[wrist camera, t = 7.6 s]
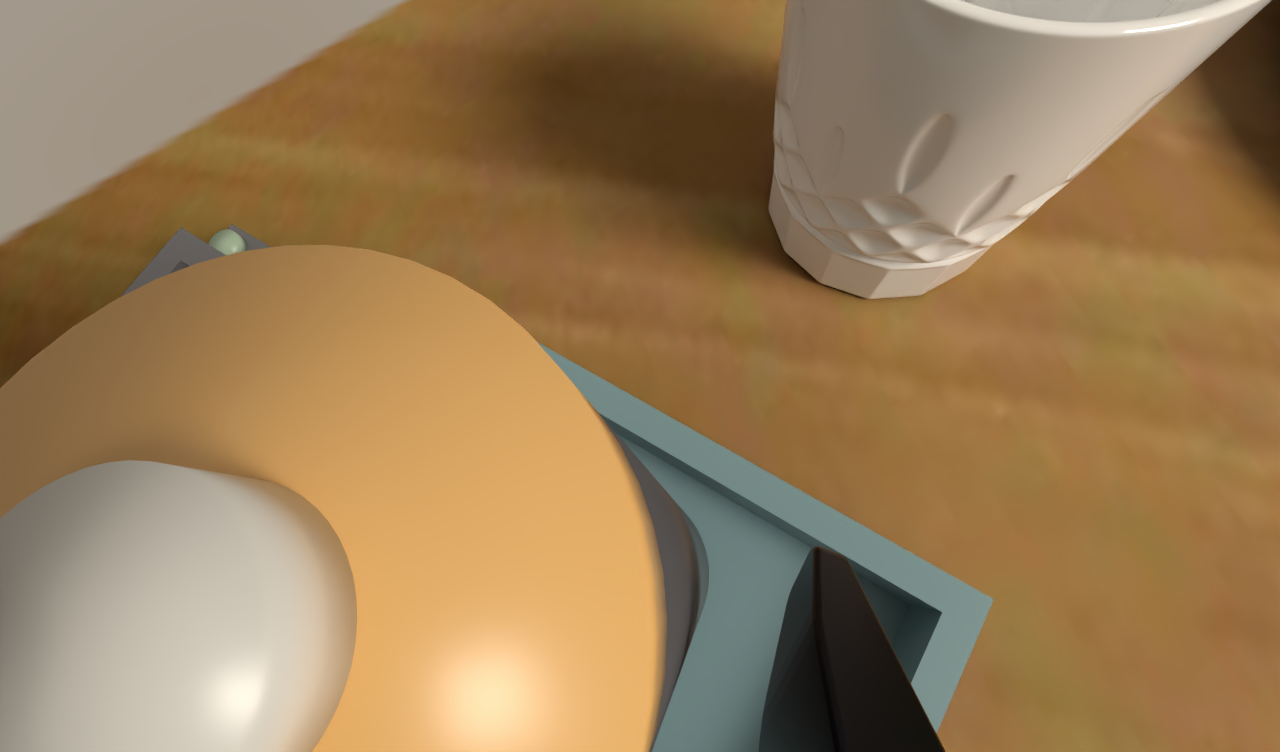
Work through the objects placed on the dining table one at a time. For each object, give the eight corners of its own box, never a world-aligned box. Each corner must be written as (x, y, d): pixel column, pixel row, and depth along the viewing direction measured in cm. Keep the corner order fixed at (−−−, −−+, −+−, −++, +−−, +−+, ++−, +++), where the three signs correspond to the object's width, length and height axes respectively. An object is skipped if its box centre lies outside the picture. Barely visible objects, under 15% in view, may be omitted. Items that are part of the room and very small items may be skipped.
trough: (790, 935, 13) (812, 1023, 11) (376, 621, 16) (318, 633, 14) (944, 591, 15) (993, 599, 12) (546, 364, 18) (522, 334, 15)
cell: (608, 703, 14) (-428, 2046, 1) (512, 556, 16) (-454, 557, 3) (745, 588, 15) (909, 824, 2) (639, 454, 16) (300, 39, 3)
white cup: (1063, 207, 18) (1482, -192, 8) (883, 371, 17) (1125, 133, 7) (868, 65, 20) (1023, -377, 11) (699, 203, 19) (702, -147, 10)
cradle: (270, 676, 16) (176, 703, 13) (45, 489, 18) (-76, 476, 15) (479, 373, 18) (437, 339, 15) (253, 239, 20) (180, 188, 17)
